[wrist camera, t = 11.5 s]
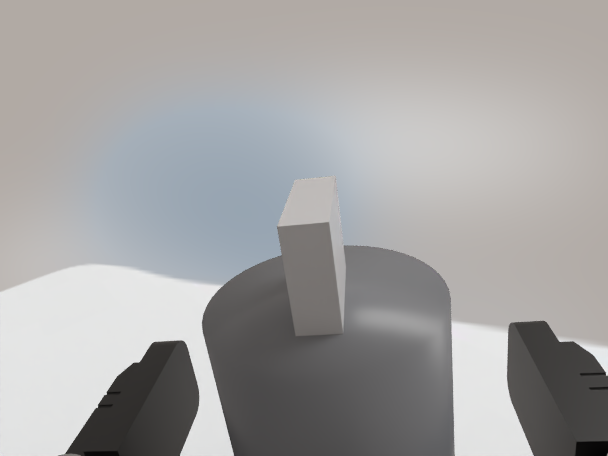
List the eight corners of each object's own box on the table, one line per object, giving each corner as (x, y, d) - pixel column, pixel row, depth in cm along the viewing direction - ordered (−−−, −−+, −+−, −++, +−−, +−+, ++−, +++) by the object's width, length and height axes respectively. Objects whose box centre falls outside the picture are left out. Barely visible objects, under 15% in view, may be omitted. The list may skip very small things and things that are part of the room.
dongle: (269, 733, 11) (129, 268, 7) (293, 537, 15) (217, 173, 11) (478, 746, 10) (477, 241, 6) (443, 538, 15) (427, 151, 10)
